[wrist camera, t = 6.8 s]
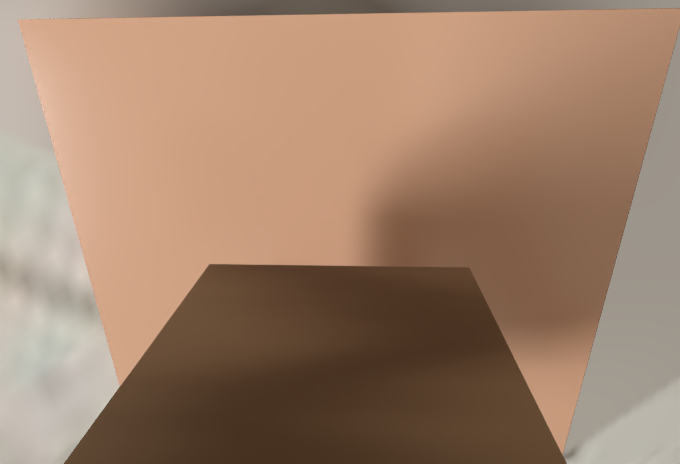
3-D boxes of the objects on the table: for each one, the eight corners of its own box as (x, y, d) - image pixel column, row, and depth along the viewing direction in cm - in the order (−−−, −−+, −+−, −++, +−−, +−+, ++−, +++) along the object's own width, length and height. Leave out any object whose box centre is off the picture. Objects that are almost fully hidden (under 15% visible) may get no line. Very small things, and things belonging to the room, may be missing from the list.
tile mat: (659, 11, 9) (684, 7, 8) (544, 462, 15) (554, 484, 14) (43, 21, 10) (17, 19, 9) (153, 449, 15) (142, 468, 15)
